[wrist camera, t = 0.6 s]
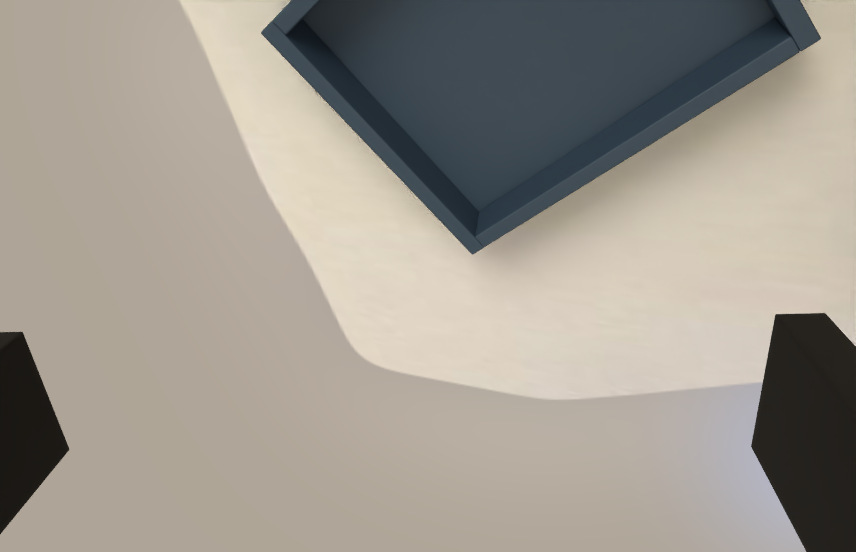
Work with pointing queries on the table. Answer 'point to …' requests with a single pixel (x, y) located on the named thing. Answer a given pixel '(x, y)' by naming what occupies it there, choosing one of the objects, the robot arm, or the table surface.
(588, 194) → the table surface
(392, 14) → the tray
